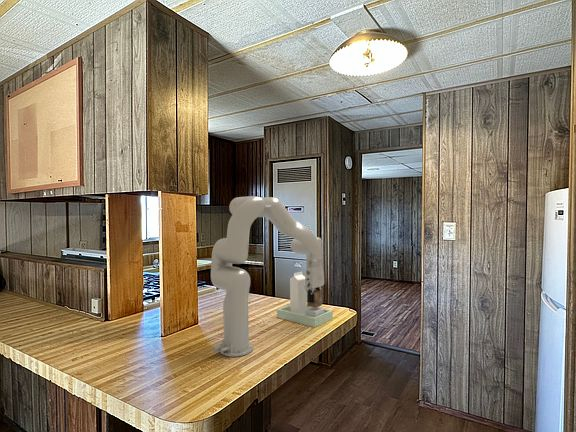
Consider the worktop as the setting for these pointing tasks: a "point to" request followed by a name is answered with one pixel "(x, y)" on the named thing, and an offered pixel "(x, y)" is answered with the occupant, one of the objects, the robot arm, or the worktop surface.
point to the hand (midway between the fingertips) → (314, 300)
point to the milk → (298, 294)
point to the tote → (304, 316)
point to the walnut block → (316, 299)
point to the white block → (314, 311)
